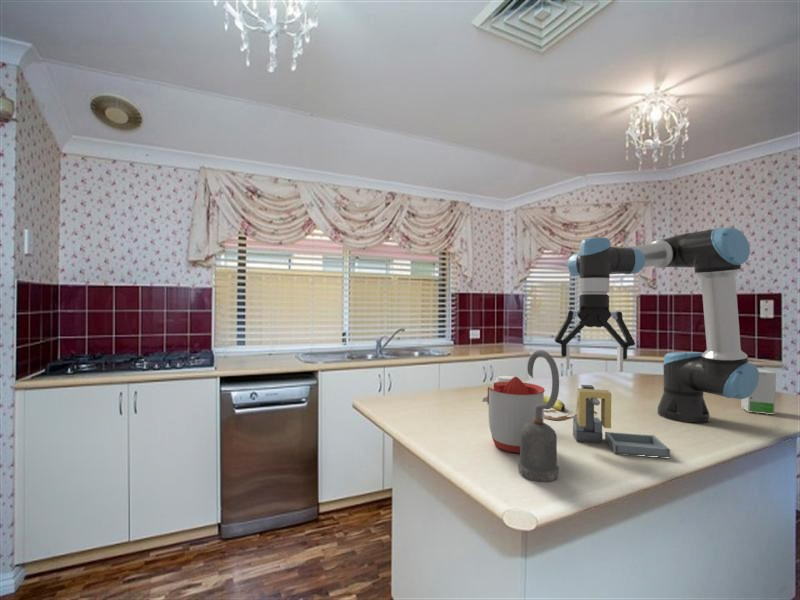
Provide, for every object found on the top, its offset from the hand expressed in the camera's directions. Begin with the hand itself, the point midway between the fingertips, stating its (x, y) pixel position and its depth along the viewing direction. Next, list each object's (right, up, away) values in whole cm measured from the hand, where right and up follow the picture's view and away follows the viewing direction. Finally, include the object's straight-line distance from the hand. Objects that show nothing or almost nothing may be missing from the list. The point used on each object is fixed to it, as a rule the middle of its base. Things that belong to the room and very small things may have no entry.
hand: (593, 369), depth 112 cm
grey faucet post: (+1, -22, +4) cm, 23 cm away
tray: (+12, -22, 0) cm, 25 cm away
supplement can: (-17, -22, +26) cm, 38 cm away
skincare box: (+79, -22, +37) cm, 91 cm away
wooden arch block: (0, -16, 0) cm, 16 cm away
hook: (-20, -23, -16) cm, 35 cm away
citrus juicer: (-22, -23, +3) cm, 32 cm away
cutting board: (+3, -23, +45) cm, 50 cm away
